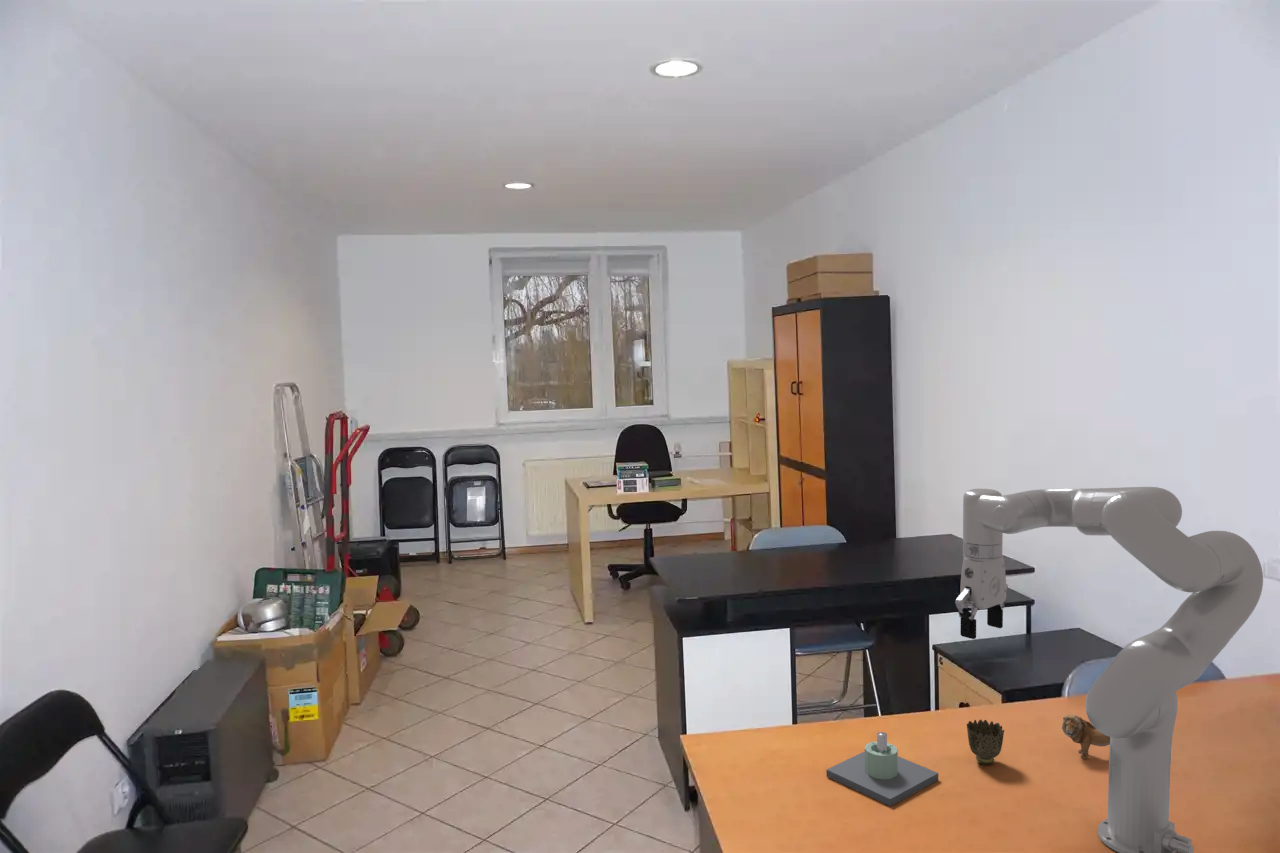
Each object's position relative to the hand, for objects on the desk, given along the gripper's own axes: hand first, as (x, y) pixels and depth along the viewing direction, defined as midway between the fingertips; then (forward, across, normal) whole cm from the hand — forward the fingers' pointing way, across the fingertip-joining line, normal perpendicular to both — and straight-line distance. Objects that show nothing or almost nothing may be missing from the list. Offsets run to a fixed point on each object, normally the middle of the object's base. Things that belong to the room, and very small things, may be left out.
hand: (981, 631), depth 184 cm
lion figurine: (+31, +24, -13) cm, 41 cm away
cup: (+31, +5, +2) cm, 31 cm away
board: (+30, -17, +12) cm, 37 cm away
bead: (+29, -17, +12) cm, 36 cm away
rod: (+29, -17, +12) cm, 36 cm away
